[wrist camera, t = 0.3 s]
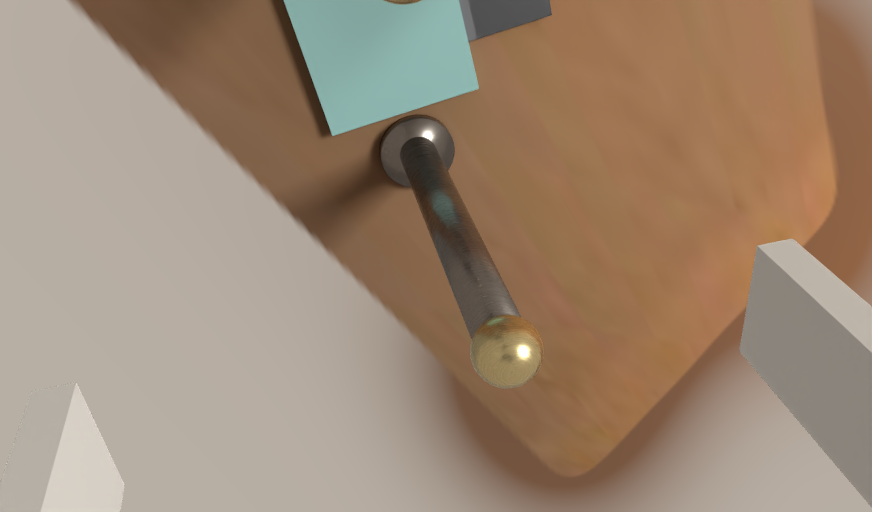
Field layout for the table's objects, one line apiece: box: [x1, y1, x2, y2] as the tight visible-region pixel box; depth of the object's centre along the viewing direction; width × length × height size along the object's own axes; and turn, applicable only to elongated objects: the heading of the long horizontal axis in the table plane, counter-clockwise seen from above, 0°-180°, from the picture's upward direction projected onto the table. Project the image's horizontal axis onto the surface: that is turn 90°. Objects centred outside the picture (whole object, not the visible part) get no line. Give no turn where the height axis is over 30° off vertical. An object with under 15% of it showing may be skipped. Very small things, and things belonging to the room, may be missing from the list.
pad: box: [284, 0, 479, 136], centre depth 38 cm, size 9×8×1 cm
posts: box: [380, 0, 544, 388], centre depth 30 cm, size 18×17×19 cm
